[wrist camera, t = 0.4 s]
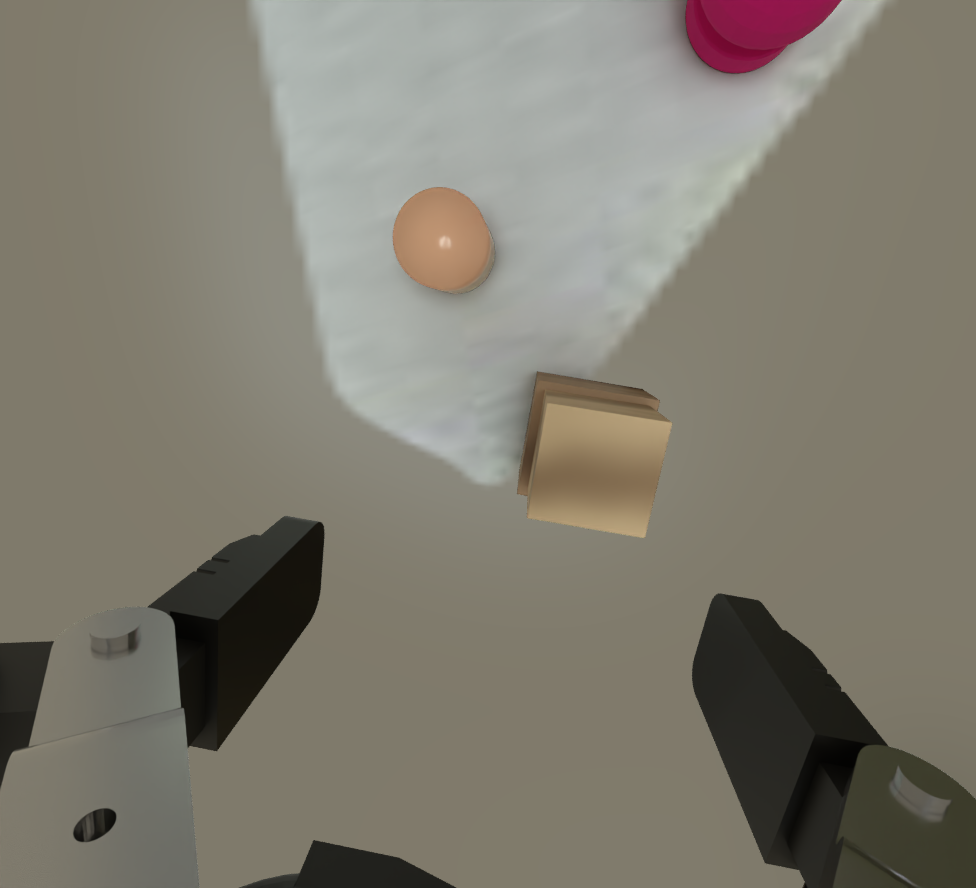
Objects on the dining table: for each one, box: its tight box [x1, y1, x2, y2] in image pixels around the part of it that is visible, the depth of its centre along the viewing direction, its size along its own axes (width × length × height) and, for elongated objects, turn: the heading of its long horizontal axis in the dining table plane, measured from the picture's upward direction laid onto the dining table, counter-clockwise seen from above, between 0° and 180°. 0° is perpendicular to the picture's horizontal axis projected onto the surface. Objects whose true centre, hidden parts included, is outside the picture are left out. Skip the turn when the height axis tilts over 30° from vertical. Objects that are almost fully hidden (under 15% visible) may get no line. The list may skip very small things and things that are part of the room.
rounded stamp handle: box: [393, 187, 495, 294], centre depth 30 cm, size 5×5×6 cm
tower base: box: [517, 372, 660, 496], centre depth 33 cm, size 7×7×5 cm
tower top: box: [527, 389, 672, 538], centre depth 28 cm, size 6×6×5 cm
